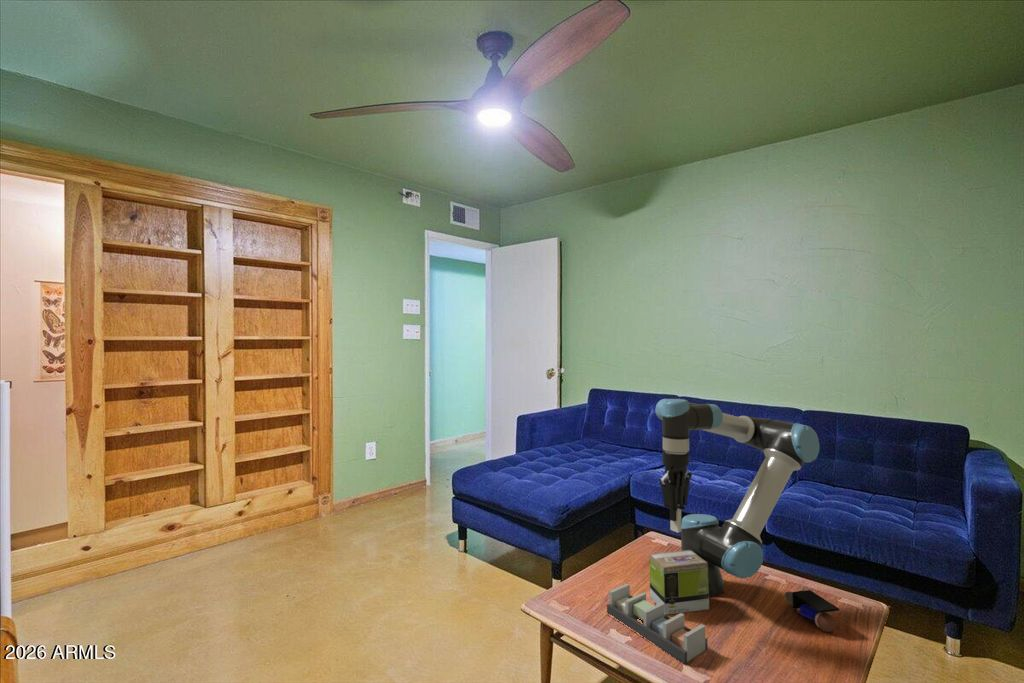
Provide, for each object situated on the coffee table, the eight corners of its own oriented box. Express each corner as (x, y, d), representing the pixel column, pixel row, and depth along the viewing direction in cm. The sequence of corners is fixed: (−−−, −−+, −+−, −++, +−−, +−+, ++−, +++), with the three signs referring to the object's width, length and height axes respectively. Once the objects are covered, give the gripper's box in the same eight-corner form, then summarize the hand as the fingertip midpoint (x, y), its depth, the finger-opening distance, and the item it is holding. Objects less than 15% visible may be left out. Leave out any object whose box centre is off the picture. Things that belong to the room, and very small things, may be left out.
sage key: (643, 609, 140) (643, 599, 140) (656, 616, 137) (656, 606, 137) (633, 614, 138) (633, 604, 138) (645, 621, 134) (645, 611, 134)
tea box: (691, 593, 155) (691, 548, 155) (709, 610, 145) (709, 562, 145) (649, 598, 152) (648, 552, 152) (664, 616, 142) (664, 567, 142)
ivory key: (626, 605, 146) (626, 596, 146) (638, 612, 142) (638, 603, 142) (616, 610, 143) (616, 601, 143) (628, 617, 139) (628, 608, 139)
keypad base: (629, 604, 148) (629, 582, 148) (707, 650, 126) (707, 624, 126) (606, 614, 143) (606, 592, 143) (684, 664, 121) (684, 638, 121)
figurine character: (784, 612, 147) (821, 636, 132) (782, 586, 148) (819, 607, 133) (803, 610, 148) (843, 634, 133) (801, 584, 148) (840, 605, 134)
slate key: (662, 626, 135) (662, 617, 135) (675, 634, 131) (675, 624, 131) (651, 632, 132) (651, 622, 132) (665, 640, 129) (665, 630, 129)
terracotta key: (682, 638, 130) (682, 628, 130) (697, 647, 126) (697, 637, 126) (671, 644, 127) (671, 634, 127) (686, 654, 123) (686, 643, 123)
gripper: (678, 446, 147) (678, 522, 147) (651, 452, 140) (651, 531, 140) (699, 450, 141) (700, 529, 141) (672, 457, 133) (672, 540, 133)
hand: (675, 530), depth 140 cm, fingers closed
